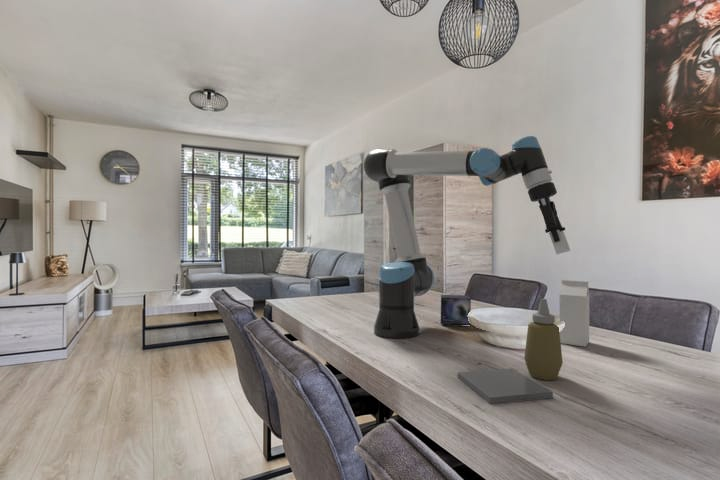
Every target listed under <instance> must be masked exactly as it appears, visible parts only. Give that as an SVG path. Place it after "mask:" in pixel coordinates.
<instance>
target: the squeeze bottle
mask: <svg viewBox="0 0 720 480" xmlns="http://www.w3.org/2000/svg"><path fill="white" fill-rule="evenodd" d="M539 301H540V302H539V305H538V309H537V312H535V313H532V321H531V322H530V323H529V324H528V325H527V332H526V334H527V335H526V341H525V350H524V362H525V365H526V369H527V370H528V374H529V375H530V376H531V377H532V378H536V379H538V380H539V379H540V380H545V381H554V380H557V378H558V376H559V373H560V371H561V368H562V366H563V363H564V362H563V361H564V360H563V353H562V352H563V351H562V345H561V344H562V343H561V342H560V332H559V326H558V325H557V324H556V323H555V319H556V317H555V315H554V314H551V313H550V309H549V305H548V300H547V298H541V299H540V300H539Z"/></svg>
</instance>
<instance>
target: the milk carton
mask: <svg viewBox="0 0 720 480" xmlns="http://www.w3.org/2000/svg"><path fill="white" fill-rule="evenodd" d="M558 311H559V317H558V318H559V319H558V320H559V322H561V321H564V322H565V327H564V328H563V330H562V331H561V332H560V342H561V344H564V345H569V346H570V345H571V346H577V347H584V348H587V345H588V344H589V343H590V287H589V281H582V280H567V279H562V280H561V286H560V290H559V310H558ZM562 317H563V318H562Z"/></svg>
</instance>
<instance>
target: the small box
mask: <svg viewBox="0 0 720 480" xmlns="http://www.w3.org/2000/svg"><path fill="white" fill-rule="evenodd" d="M471 300H472V299H471V297H470V295H462V294H461V295H460V294H440V321H441V322H440V321H439V322H440V325H441V324H443V325H442V326H448V325H470V326H471V322H470V323H469V321H468V317H467V315H468V313H469V312H470V311H471V308H472V307H471V305H472V304H471V303H472V301H471ZM471 312H472V311H471Z"/></svg>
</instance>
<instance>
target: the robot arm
mask: <svg viewBox="0 0 720 480" xmlns="http://www.w3.org/2000/svg"><path fill="white" fill-rule="evenodd" d="M546 161H547V160H546V158H545V155H544V152H543V150H542V147H541V145H540V143H539V140H538V138H537V137H536V136H534V135H529V136H528V135H527V136H525V137H524V136H523V137H521V138H519V139H518V140H516V141H514V142H513V143H512V144H511V150H510V151H508V152H507V153H504V154H502V155H499V154H498V152H496V151H495V150H494V149H491V148H488V147H480V148H478V149H477V150H451V151H450V150H447V151H446V150H445V151H443V150H442V151H441V150H438V151H398V150H397V149H394V148H391V149H390V148H387V149H386V148H377V149H376V148H375V149H373V150H371V151H370V152H369V153H368V154H367V155H366V156H365V158H364V161H363V170H364V172H365V175H366V176H367V178H369V179H370V180H372V181H374V182H376V183H378V188H379V191H380V193H381V194H382V195H384V197H385V201H386V207H387V212H388V217H389V222H390V227H391V231H392V236H393V241H394V246H395V251H396V257H397V258H396V260H395V261H394V262H389V263H384V264H382V265H381V266H380V268H379V273H378V280H379V281H378V285H379V286H378V287H379V288H378V292H379V293H378V296H379V297H378V298H379V300H378V303H379V307H378V311H377V312H378V313H377V315H376V319H375V322H374V325H373V330H374V331H373V333H374V334H375V335H376V334H377V335H376V336H379V335H380V336H379V337H382V336H384V337H383V338H388V339H409V337H410V338H414V337H417V336H419V334H420V326H419V323H418V319H417V316H416V312H415V297H419V296H420V297H421V296H423V295H425V294H427V293H428V292H429V291H430V290H432V287H433V286H434V282H435V274H434V271H433V269H432V268H431V267H430V266H429V265H428V262H427V258H426V256H425V255H424V254H422V253H421V249H420V246H419V240H418V235H417V230H416V225H415V220H414V216H413V211H412V206H411V201H410V195H409V192H408V191H409V190H410V188H411V181H410V180H411V178H412V176H442V177H444V176H446V177H447V176H449V177H451V176H452V177H453V176H454V177H455V176H456V177H461V176H465V177H478V178H479V181H480V182H481V183H482V185H483V186H486V187H489V186H491V185H494V184H495V185H496V184H497V183H499V182H501V181H504V180H506V179H509V178H512V177H514V176H517V175H519V174H521V176H522V177H521V178H522V181H523V183H524V186H525V188H526V190H527V194H528V196H529V199H530V201H531V202H538V204H539V206H538V207H539V210H540V212H541V215H542V216H543V221H544V223H545V229H544V232H545V234H546V233H548V234H549V237H550V239H551V242H552V243H551V244H552V245H553V248H554V252H555V254H556V255H560V254H563V253H568V252H570V251H571V248H570V245H569V243H568V241H567V240H568V239H567V238H566V237H567V236H566V235H565V232H564V231H566V227H565V226H563V225H562V223H561V221H560V218H559V216H558V212H557V209H556V204H555V202H554V201H553V200H551V197H554V196H556V195H557V193H558V191H557V188H556V185H555V182H553V178H552V175H551V174H553V171H552V170H550V169H549V167H548V164H547V162H546ZM413 336H414V337H413Z"/></svg>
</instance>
